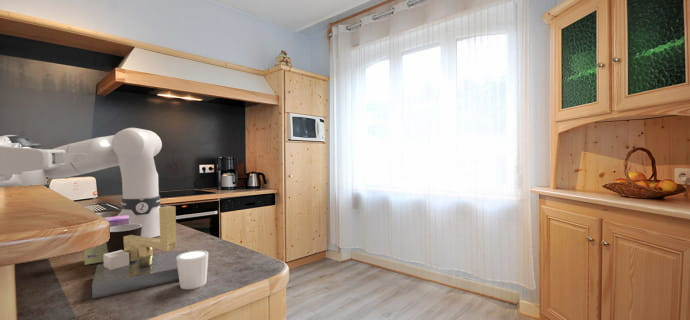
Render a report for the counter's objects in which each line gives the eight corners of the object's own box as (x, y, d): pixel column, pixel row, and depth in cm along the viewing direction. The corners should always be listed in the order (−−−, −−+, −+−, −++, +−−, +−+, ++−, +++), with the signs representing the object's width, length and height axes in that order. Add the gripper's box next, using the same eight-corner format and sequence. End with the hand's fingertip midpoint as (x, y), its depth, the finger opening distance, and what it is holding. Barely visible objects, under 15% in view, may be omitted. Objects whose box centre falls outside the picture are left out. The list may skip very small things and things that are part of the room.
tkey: (121, 262, 79) (119, 204, 78) (133, 258, 82) (131, 202, 81) (167, 271, 73) (165, 208, 72) (178, 266, 76) (176, 206, 75)
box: (130, 252, 96) (128, 214, 96) (130, 257, 92) (129, 217, 91) (86, 259, 90) (84, 219, 90) (84, 265, 86) (82, 222, 85)
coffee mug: (123, 270, 82) (122, 232, 82) (96, 267, 84) (95, 230, 84) (158, 255, 94) (157, 222, 93) (134, 253, 95) (133, 220, 95)
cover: (103, 266, 77) (103, 254, 77) (122, 261, 80) (122, 249, 80) (110, 269, 75) (110, 257, 75) (129, 264, 78) (129, 252, 78)
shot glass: (188, 293, 69) (187, 261, 69) (170, 286, 73) (170, 256, 72) (215, 281, 75) (214, 252, 75) (198, 275, 79) (197, 248, 78)
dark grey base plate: (97, 276, 78) (97, 264, 78) (186, 260, 89) (186, 249, 89) (92, 298, 67) (91, 285, 66) (195, 276, 78) (195, 264, 78)
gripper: (12, 171, 70) (91, 169, 78) (-24, 178, 54) (81, 174, 61) (11, 143, 70) (90, 143, 78) (-26, 142, 53) (80, 142, 61)
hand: (86, 157), depth 70 cm, fingers closed
